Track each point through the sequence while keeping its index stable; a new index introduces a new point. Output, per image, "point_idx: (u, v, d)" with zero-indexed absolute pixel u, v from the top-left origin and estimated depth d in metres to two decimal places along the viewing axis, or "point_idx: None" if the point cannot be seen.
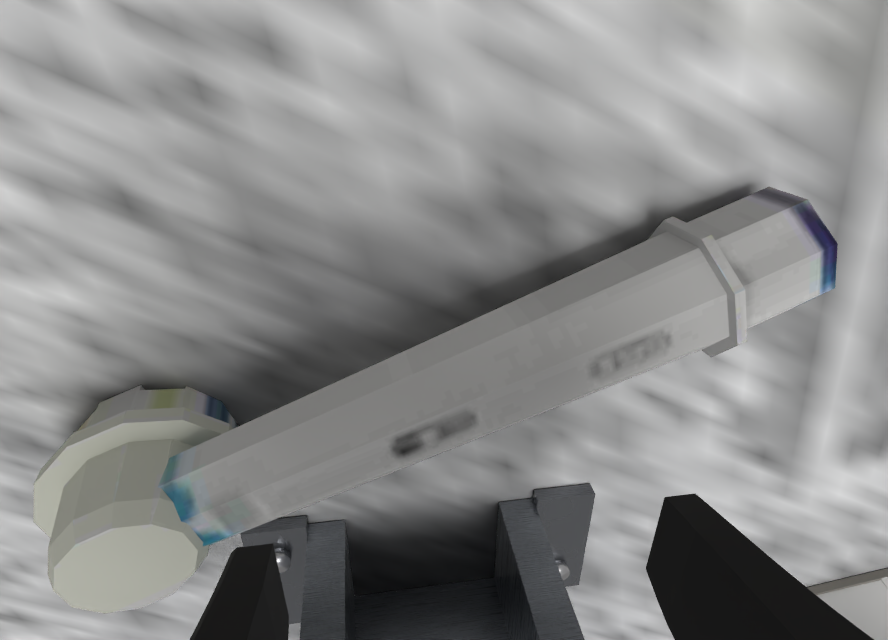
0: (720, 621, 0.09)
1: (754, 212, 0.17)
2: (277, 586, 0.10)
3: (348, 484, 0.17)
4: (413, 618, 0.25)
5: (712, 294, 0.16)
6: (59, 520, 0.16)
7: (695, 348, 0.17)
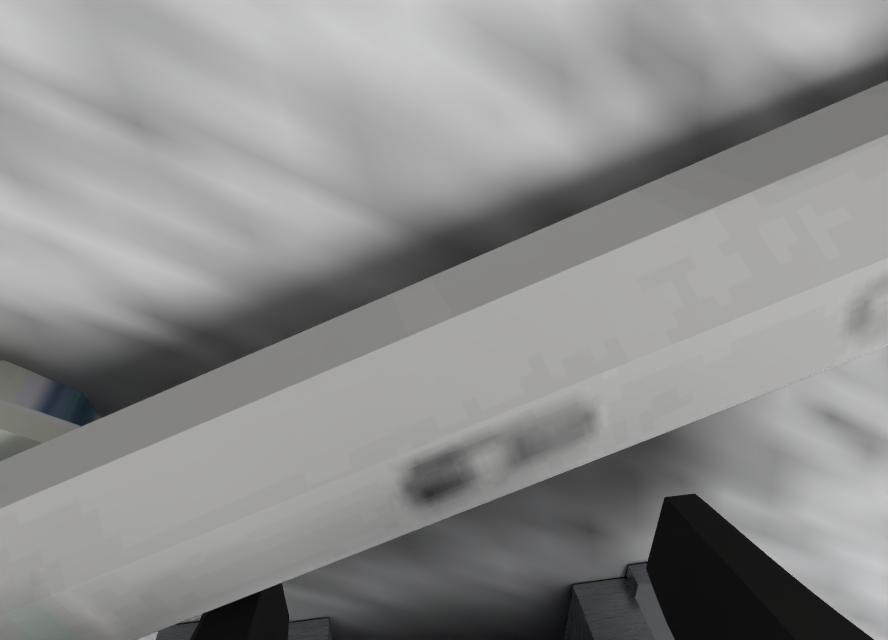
0: (720, 621, 0.09)
1: None
2: (277, 586, 0.10)
3: (302, 566, 0.07)
4: None
5: None
6: None
7: None
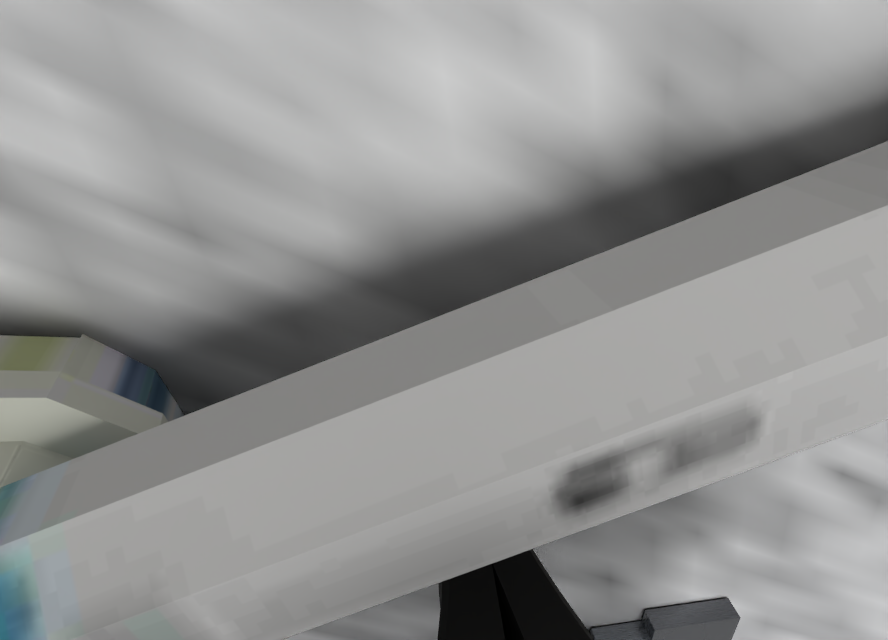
0: None
1: None
2: None
3: (437, 575, 0.07)
4: None
5: None
6: None
7: None
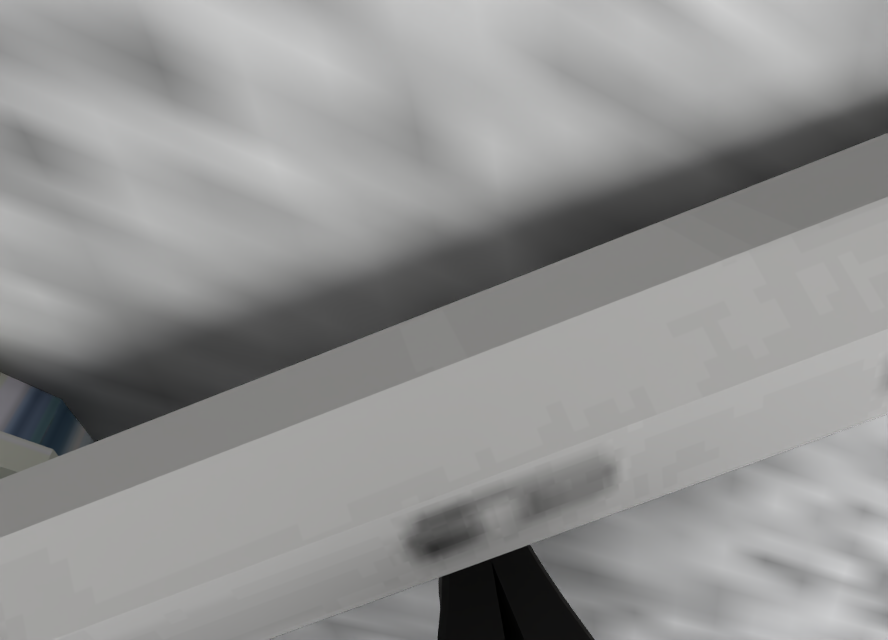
0: None
1: None
2: None
3: (292, 622, 0.07)
4: None
5: None
6: None
7: None
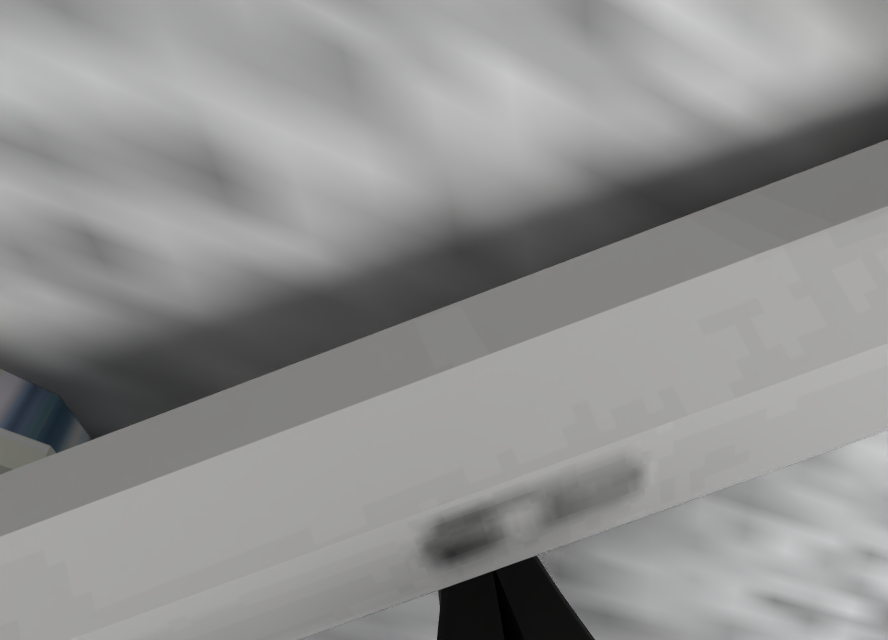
0: None
1: None
2: None
3: (302, 629, 0.06)
4: None
5: None
6: None
7: None
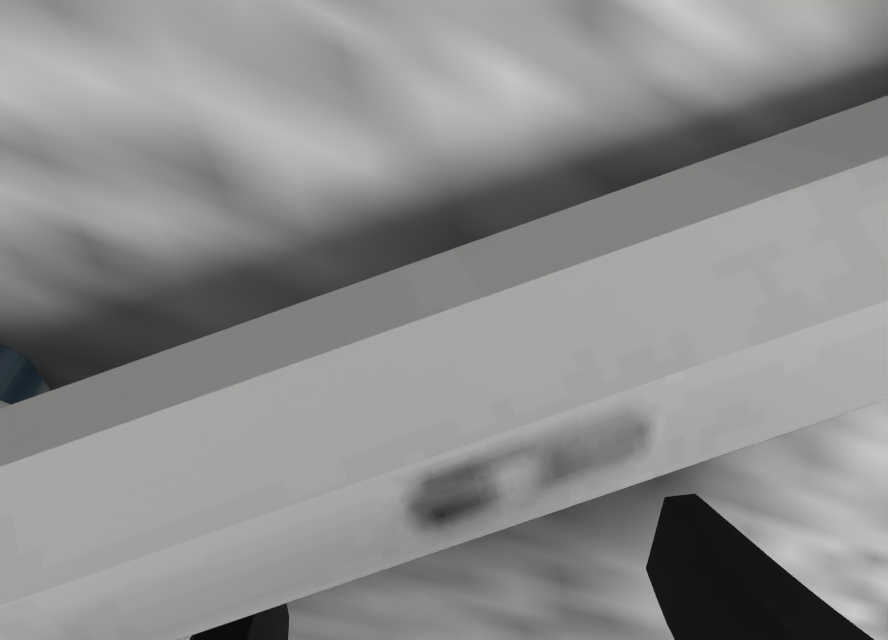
0: (720, 621, 0.09)
1: None
2: None
3: (275, 596, 0.06)
4: None
5: None
6: None
7: None
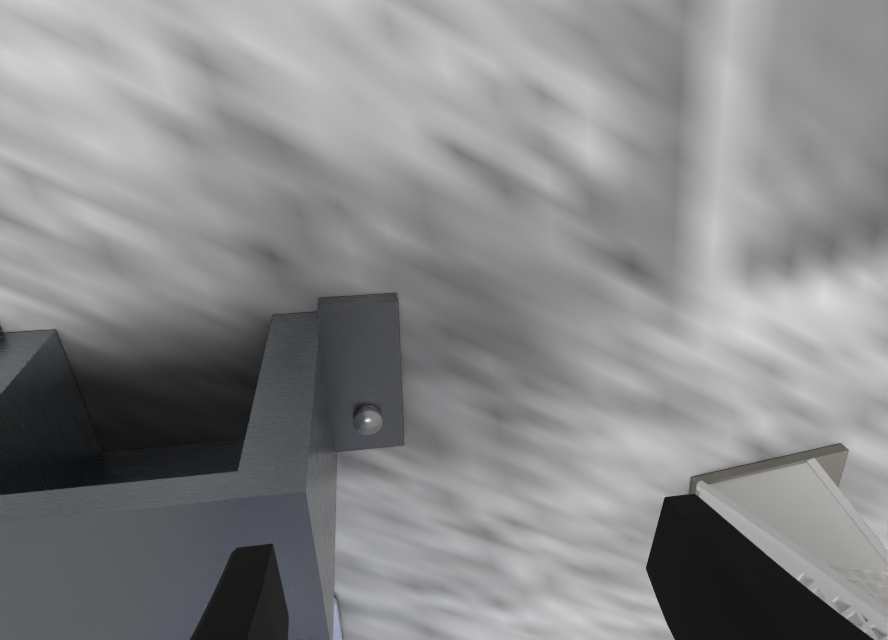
0: (720, 621, 0.09)
1: None
2: (277, 586, 0.10)
3: None
4: (169, 474, 0.19)
5: None
6: None
7: None
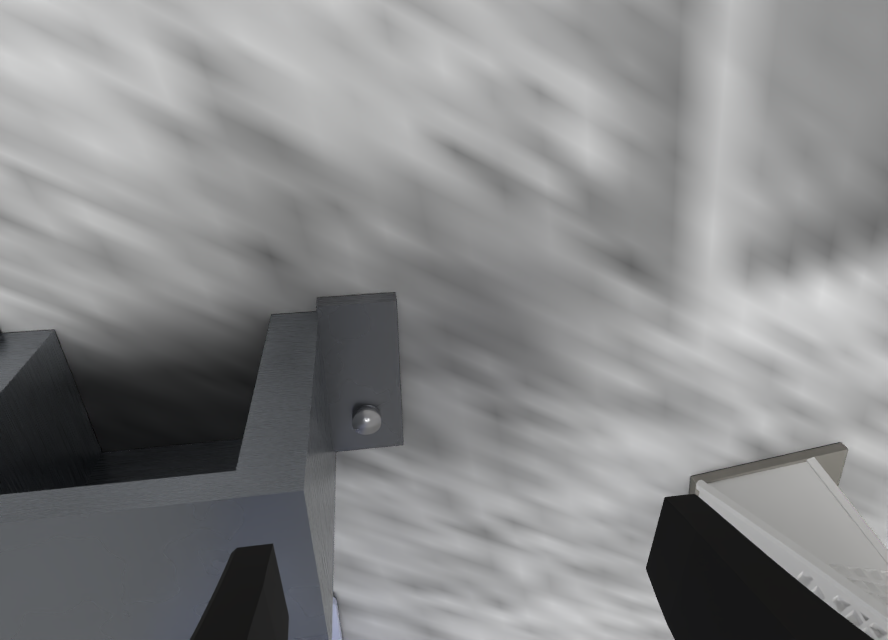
0: (720, 621, 0.09)
1: None
2: (277, 586, 0.10)
3: None
4: (167, 474, 0.19)
5: None
6: None
7: None
